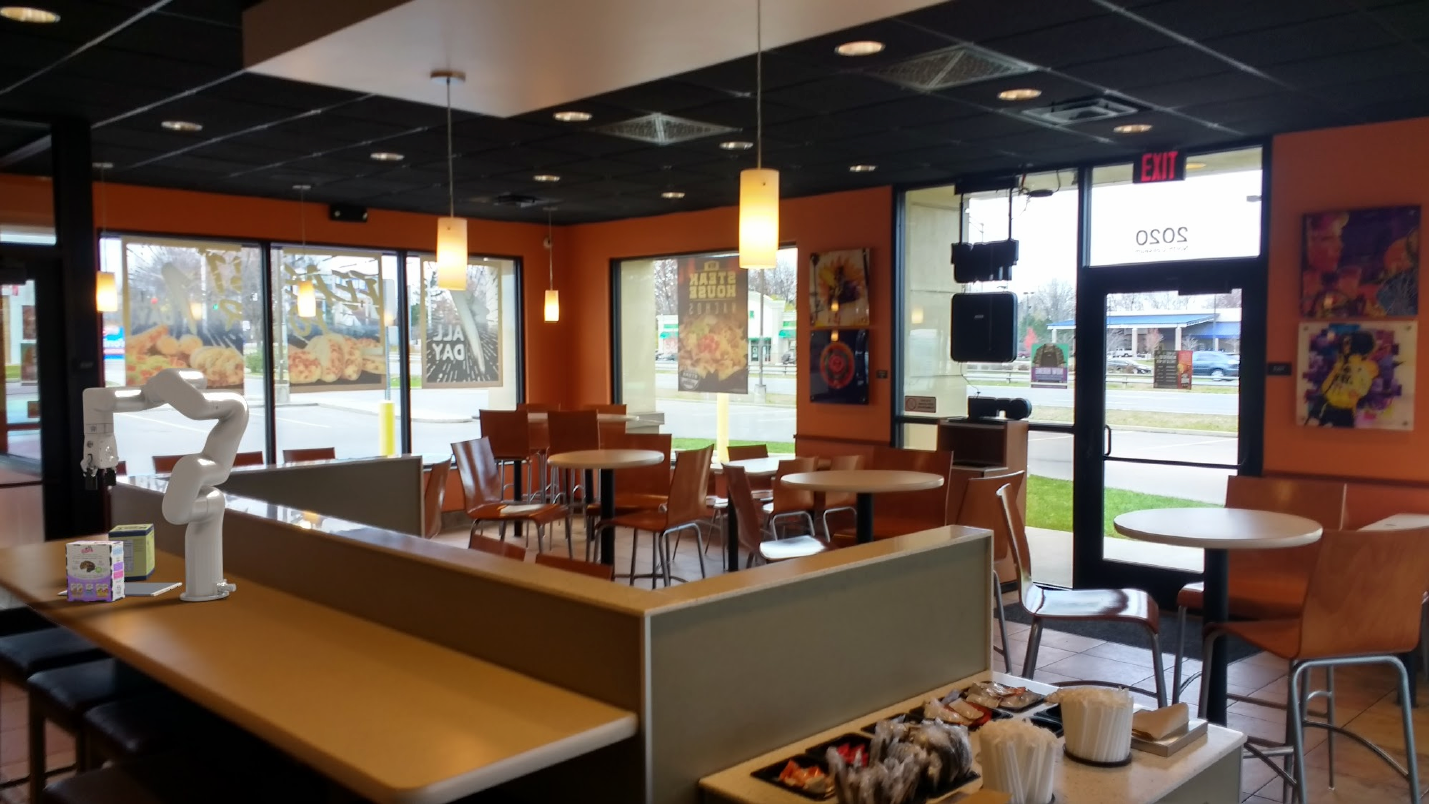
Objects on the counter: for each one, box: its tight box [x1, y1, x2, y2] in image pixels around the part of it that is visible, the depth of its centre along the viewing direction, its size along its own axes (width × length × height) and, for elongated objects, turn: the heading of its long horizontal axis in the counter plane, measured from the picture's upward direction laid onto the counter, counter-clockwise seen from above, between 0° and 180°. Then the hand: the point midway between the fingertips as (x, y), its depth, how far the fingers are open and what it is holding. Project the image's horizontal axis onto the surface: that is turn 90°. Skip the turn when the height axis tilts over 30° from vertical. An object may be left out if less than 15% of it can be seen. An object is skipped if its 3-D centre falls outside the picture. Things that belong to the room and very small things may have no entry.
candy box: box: [64, 540, 126, 603], centre depth 293 cm, size 14×6×16 cm, turn 84°
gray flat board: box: [57, 582, 183, 597], centre depth 305 cm, size 28×15×1 cm, turn 89°
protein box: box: [107, 523, 156, 582], centre depth 324 cm, size 10×16×16 cm
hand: (101, 487), depth 305 cm, fingers open, 9 cm apart
